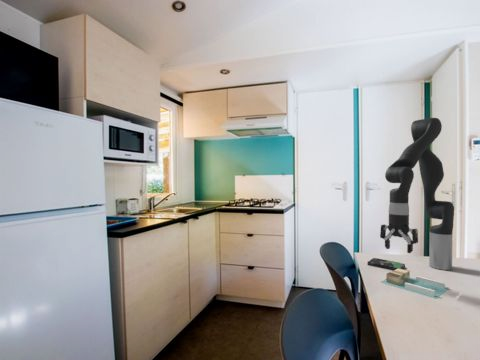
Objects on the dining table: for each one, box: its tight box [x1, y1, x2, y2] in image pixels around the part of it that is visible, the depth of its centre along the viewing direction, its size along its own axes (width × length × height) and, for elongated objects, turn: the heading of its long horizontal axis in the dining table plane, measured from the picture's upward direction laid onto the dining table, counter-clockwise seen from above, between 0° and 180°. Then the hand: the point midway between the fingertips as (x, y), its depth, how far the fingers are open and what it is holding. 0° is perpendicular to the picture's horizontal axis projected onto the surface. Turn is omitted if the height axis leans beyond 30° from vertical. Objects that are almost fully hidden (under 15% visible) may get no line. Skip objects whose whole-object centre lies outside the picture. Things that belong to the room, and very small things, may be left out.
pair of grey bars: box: [405, 275, 446, 297], centre depth 109 cm, size 13×10×2 cm
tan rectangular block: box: [385, 268, 411, 285], centre depth 117 cm, size 12×4×4 cm, turn 128°
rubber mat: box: [380, 277, 450, 300], centre depth 112 cm, size 16×20×1 cm
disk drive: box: [367, 257, 406, 271], centre depth 136 cm, size 10×3×15 cm
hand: (398, 250), depth 117 cm, fingers open, 8 cm apart
